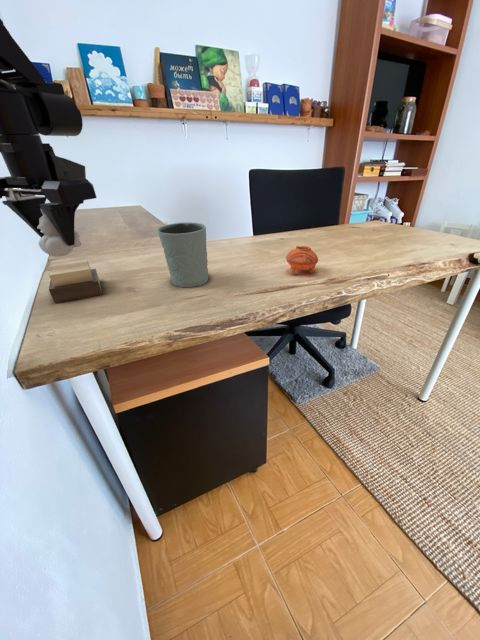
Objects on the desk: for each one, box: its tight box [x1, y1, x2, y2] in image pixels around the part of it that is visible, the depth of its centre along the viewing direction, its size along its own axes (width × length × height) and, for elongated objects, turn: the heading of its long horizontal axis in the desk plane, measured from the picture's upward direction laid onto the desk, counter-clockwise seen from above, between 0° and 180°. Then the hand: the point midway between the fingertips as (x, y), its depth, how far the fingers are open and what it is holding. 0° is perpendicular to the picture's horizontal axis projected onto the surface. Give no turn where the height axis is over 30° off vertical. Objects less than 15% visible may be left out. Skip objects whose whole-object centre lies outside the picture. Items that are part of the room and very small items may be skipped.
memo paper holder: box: [48, 259, 103, 304], centre depth 64 cm, size 9×9×6 cm
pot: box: [285, 245, 319, 275], centre depth 72 cm, size 8×8×7 cm
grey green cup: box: [157, 221, 209, 288], centre depth 66 cm, size 10×10×12 cm
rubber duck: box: [37, 208, 82, 258], centre depth 51 cm, size 5×7×8 cm
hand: (60, 243), depth 52 cm, fingers closed on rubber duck, 5 cm apart
